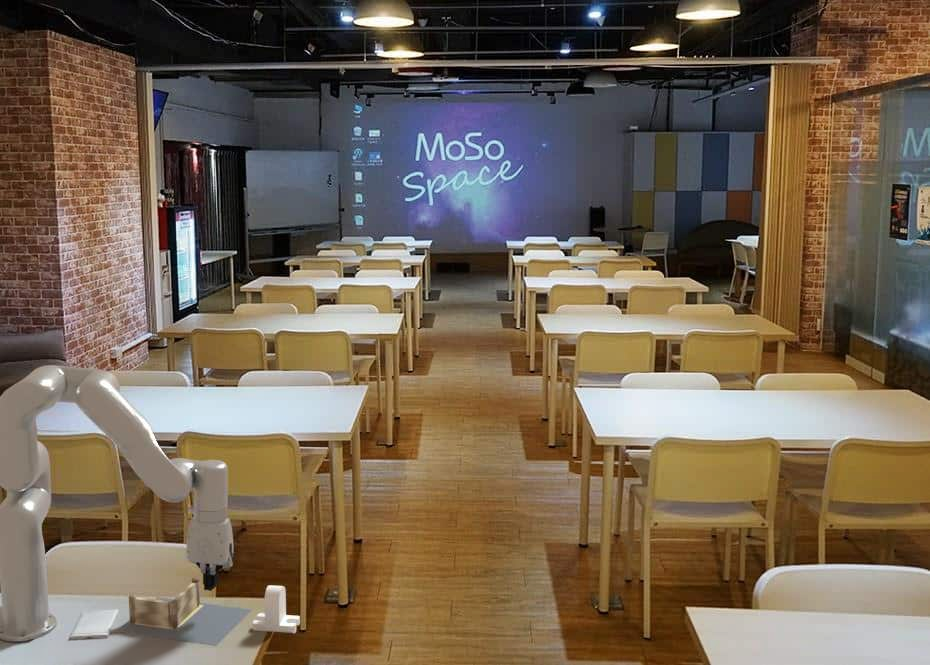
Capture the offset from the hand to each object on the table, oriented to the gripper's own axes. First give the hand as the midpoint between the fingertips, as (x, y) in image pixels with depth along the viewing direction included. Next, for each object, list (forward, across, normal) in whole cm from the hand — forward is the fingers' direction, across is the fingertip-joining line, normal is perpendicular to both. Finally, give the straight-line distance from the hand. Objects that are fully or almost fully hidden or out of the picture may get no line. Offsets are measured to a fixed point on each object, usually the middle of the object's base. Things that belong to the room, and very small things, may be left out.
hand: (210, 588), depth 226 cm
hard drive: (+8, -22, -12) cm, 27 cm away
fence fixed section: (+7, -11, -8) cm, 15 cm away
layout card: (+7, -4, -4) cm, 9 cm away
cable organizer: (+7, +17, -1) cm, 19 cm away
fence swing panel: (+6, -5, -3) cm, 8 cm away
